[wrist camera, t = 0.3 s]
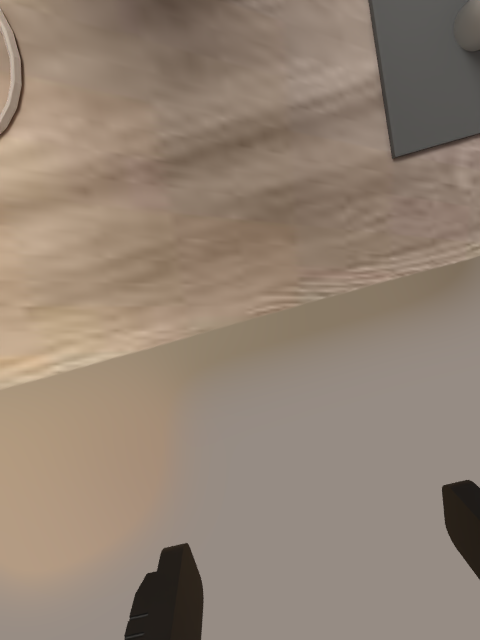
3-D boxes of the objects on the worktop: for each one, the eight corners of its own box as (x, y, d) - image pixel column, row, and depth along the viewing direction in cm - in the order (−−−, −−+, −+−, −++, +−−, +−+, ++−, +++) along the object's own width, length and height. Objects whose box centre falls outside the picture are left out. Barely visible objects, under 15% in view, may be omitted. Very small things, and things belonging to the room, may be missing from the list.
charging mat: (359, -60, 30) (362, -66, 30) (559, -118, 30) (566, -125, 30) (392, 158, 35) (395, 156, 34) (566, 108, 35) (572, 106, 34)
